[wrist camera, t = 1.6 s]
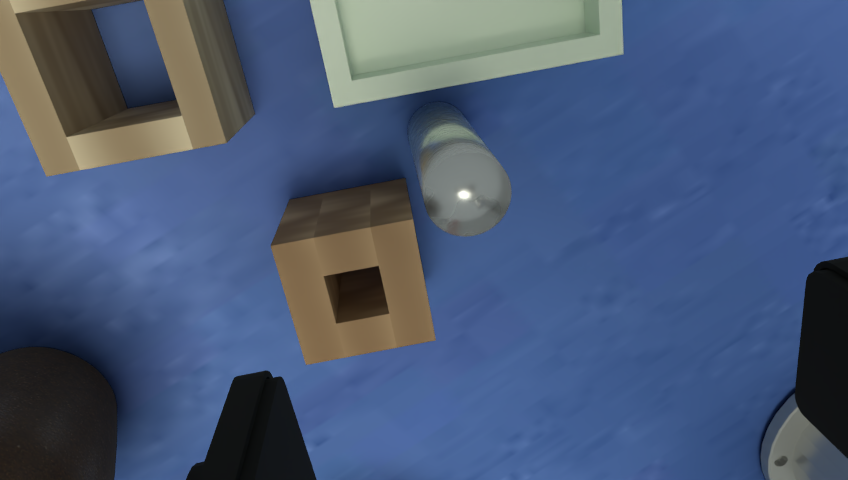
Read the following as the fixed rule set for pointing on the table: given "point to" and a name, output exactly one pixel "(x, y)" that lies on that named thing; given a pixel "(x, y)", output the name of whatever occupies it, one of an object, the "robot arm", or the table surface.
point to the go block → (99, 90)
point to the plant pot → (55, 417)
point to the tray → (455, 41)
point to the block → (353, 272)
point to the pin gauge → (456, 171)
